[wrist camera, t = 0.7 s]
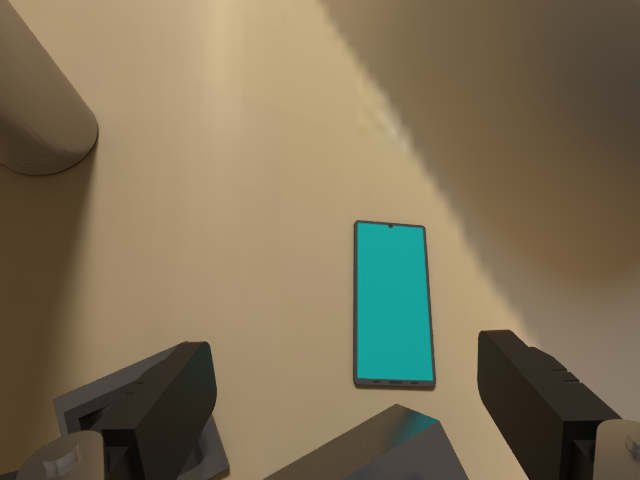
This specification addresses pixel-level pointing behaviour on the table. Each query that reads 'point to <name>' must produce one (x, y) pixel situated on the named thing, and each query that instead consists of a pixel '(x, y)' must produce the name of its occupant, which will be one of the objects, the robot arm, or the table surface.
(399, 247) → the smartphone
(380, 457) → the box with square opening
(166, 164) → the table surface
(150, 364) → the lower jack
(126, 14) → the table surface
